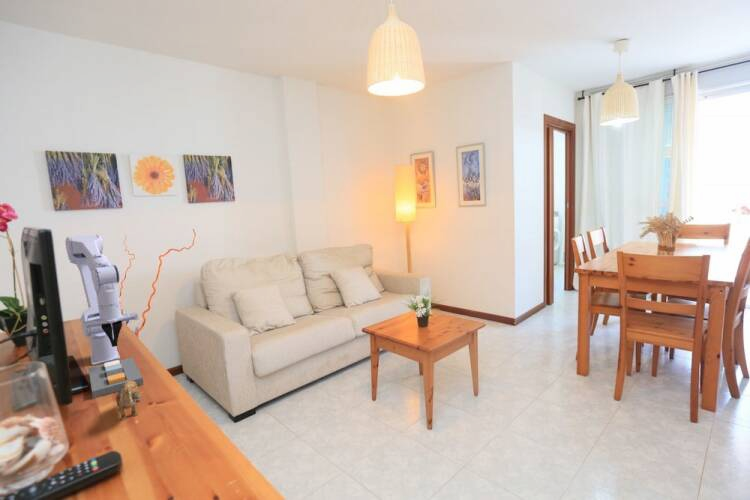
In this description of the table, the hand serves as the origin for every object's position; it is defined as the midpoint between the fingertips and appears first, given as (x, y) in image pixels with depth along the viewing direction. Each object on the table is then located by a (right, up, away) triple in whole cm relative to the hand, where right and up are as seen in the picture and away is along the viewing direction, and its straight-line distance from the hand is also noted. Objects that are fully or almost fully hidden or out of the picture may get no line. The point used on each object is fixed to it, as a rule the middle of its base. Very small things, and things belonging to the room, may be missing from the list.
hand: (114, 345), depth 123 cm
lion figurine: (+21, -11, -25) cm, 35 cm away
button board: (+4, -9, -5) cm, 11 cm away
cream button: (0, -8, 0) cm, 8 cm away
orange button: (+8, -9, -10) cm, 16 cm away
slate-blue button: (+4, -8, -6) cm, 10 cm away
